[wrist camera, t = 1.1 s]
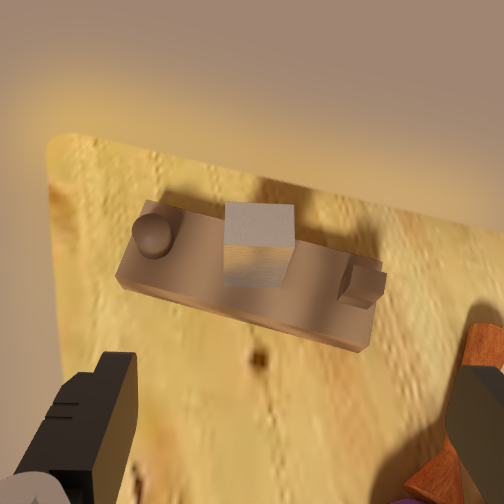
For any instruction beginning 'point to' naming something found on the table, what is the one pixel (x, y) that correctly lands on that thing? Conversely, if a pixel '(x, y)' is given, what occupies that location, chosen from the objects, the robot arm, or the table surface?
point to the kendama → (446, 461)
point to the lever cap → (257, 243)
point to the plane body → (252, 298)
